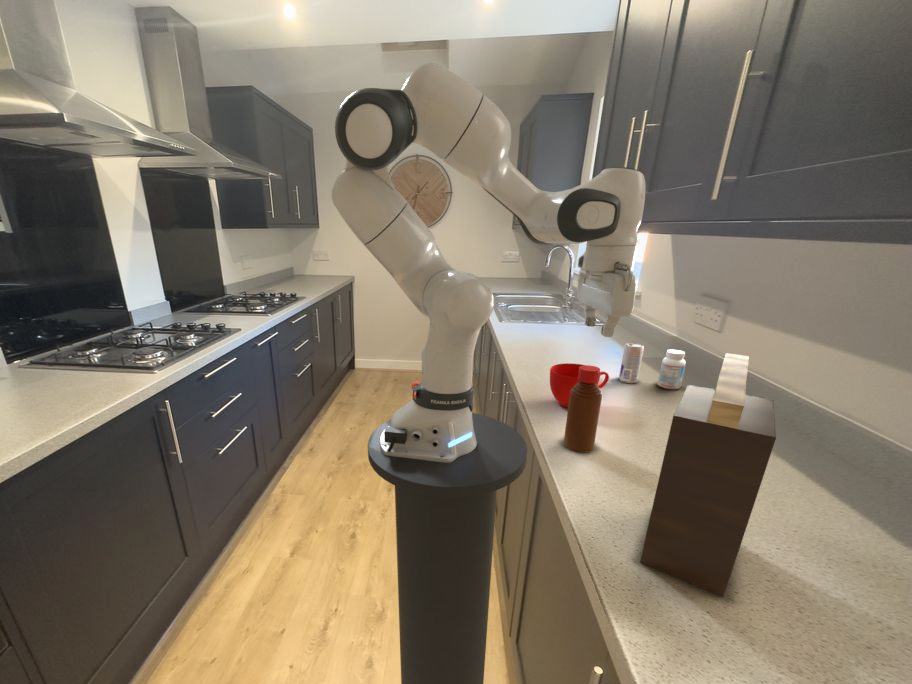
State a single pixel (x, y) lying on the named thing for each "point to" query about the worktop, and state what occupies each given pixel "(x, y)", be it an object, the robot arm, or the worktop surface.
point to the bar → (730, 392)
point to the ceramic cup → (567, 381)
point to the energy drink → (631, 362)
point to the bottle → (582, 417)
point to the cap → (588, 374)
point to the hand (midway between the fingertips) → (597, 330)
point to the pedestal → (707, 489)
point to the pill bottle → (672, 370)
